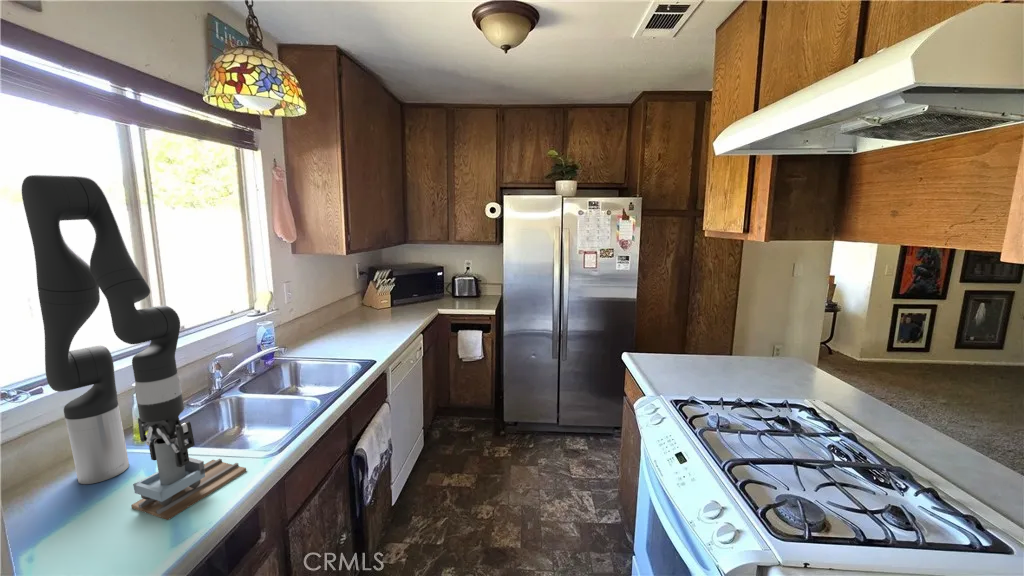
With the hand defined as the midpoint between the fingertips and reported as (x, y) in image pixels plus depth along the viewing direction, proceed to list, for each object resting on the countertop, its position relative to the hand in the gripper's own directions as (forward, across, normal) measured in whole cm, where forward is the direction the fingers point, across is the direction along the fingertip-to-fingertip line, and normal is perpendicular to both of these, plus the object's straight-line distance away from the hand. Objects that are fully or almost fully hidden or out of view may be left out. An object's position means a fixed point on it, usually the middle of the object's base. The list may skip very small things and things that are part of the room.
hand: (170, 461), depth 90 cm
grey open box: (+7, 0, +1) cm, 8 cm away
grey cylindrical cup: (+5, 0, 0) cm, 5 cm away
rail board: (+9, 0, -4) cm, 10 cm away
